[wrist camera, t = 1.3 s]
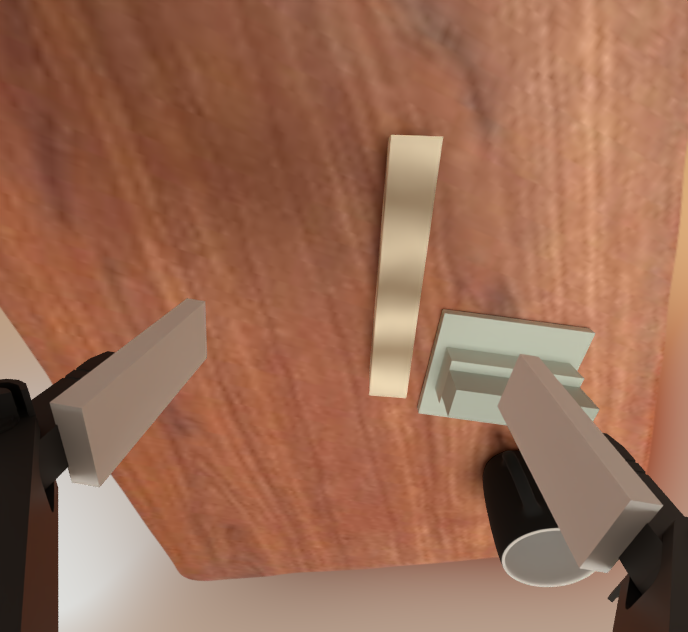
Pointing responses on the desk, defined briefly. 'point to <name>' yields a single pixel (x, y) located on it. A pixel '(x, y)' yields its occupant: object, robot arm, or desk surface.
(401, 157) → the birch bar
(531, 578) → the mug
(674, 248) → the desk surface
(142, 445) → the desk surface
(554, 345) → the ridge
